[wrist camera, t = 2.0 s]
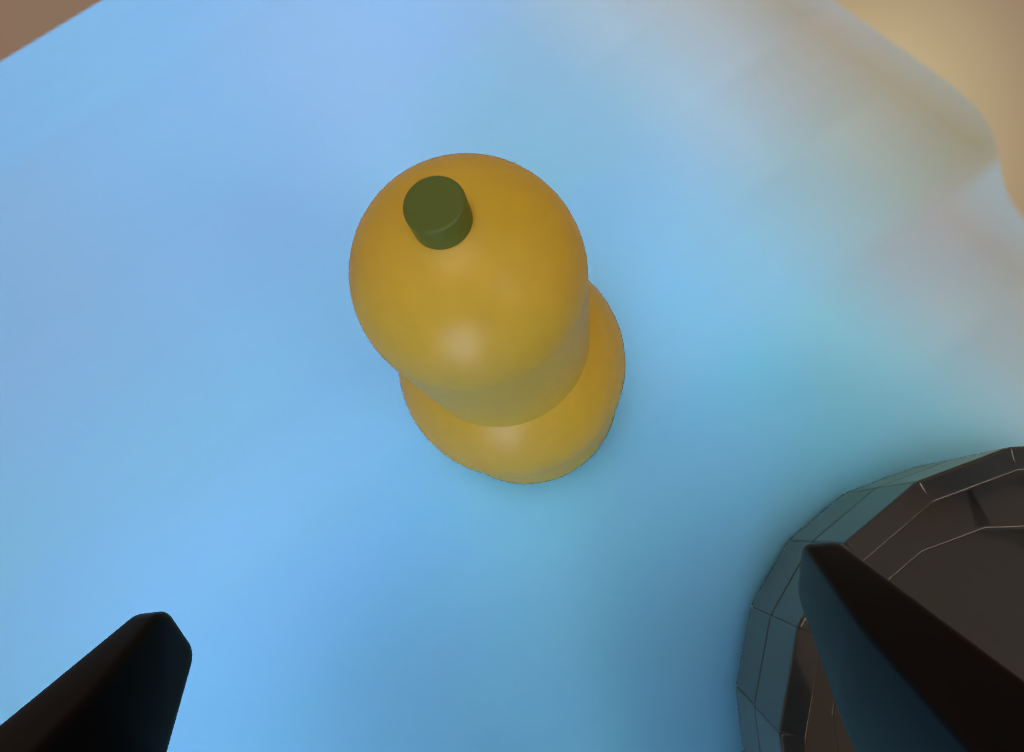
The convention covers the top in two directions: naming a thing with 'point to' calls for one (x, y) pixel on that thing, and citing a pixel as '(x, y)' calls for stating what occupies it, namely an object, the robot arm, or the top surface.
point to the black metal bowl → (905, 562)
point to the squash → (489, 316)
